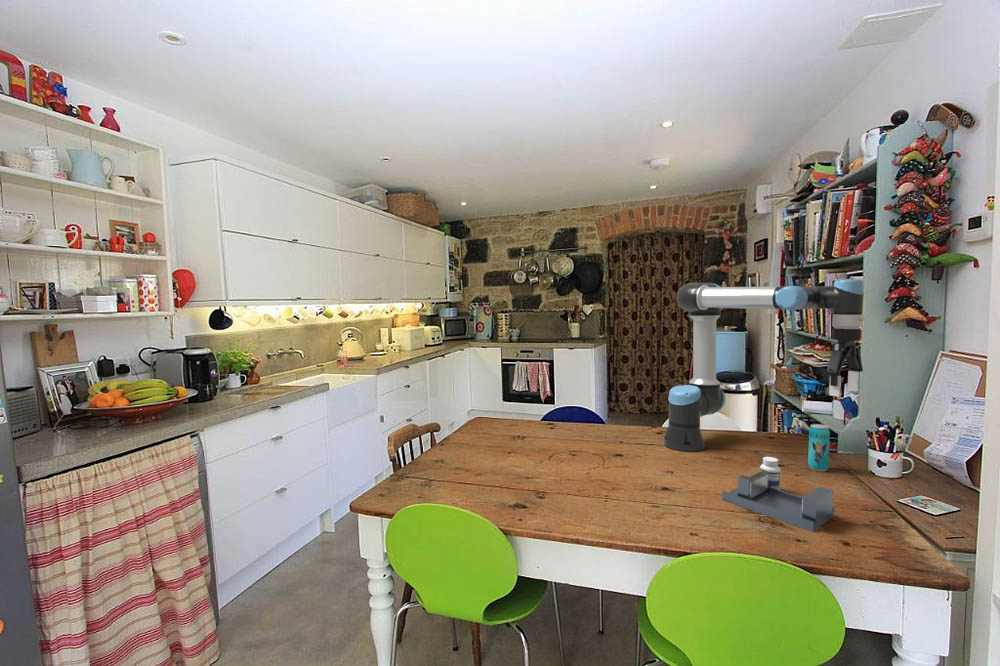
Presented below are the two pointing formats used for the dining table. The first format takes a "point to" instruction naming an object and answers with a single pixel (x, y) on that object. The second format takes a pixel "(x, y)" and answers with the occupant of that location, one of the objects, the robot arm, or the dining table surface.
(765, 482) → the sliding jaw
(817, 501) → the vise bed
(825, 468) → the beverage can
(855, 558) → the dining table surface
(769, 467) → the pill bottle
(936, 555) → the dining table surface
